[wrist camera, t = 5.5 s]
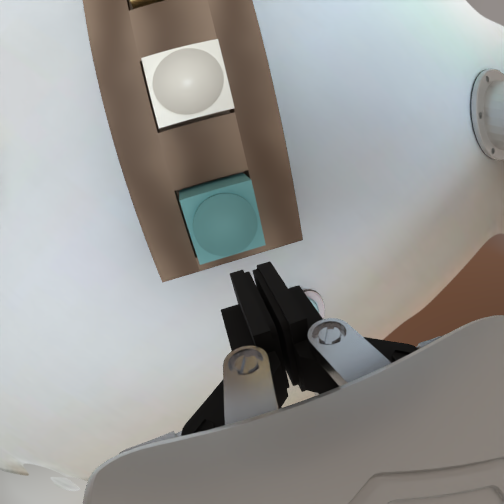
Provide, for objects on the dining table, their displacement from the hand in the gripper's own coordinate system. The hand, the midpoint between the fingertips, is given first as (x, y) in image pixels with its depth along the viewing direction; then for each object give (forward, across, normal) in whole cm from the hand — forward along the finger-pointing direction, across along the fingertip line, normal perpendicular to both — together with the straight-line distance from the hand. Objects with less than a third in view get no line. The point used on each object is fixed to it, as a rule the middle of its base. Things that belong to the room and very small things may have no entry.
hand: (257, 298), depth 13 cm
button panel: (+15, 0, -10) cm, 18 cm away
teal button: (+13, 0, 0) cm, 13 cm away
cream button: (+13, 0, -10) cm, 16 cm away
